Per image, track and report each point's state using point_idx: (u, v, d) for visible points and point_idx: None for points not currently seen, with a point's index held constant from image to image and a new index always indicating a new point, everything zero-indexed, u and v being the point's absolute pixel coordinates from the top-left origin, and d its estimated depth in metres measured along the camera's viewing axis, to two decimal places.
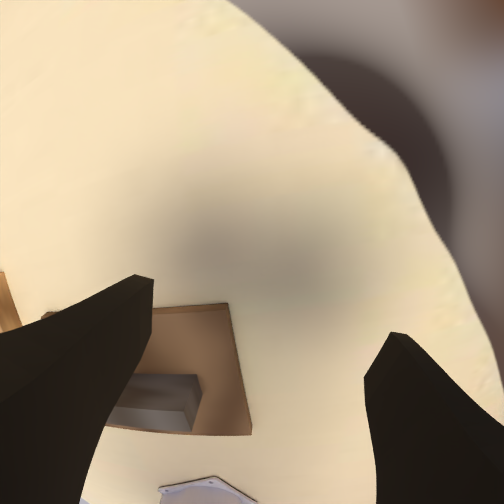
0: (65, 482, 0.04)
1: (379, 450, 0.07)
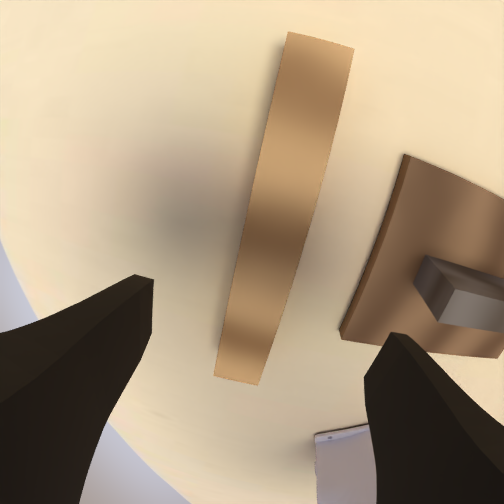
0: (65, 482, 0.04)
1: (379, 450, 0.07)
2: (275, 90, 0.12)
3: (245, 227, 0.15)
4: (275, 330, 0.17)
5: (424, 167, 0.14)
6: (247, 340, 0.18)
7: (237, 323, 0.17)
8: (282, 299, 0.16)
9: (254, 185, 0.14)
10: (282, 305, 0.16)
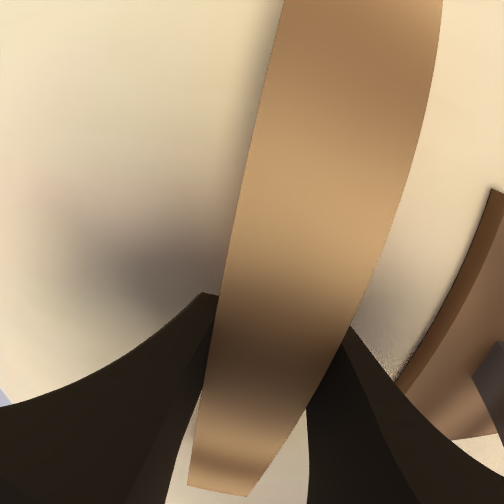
0: None
1: (313, 448, 0.07)
2: (277, 43, 0.04)
3: (213, 342, 0.07)
4: (270, 460, 0.10)
5: None
6: (228, 465, 0.10)
7: (212, 451, 0.10)
8: (281, 433, 0.09)
9: (228, 267, 0.06)
10: (282, 439, 0.09)
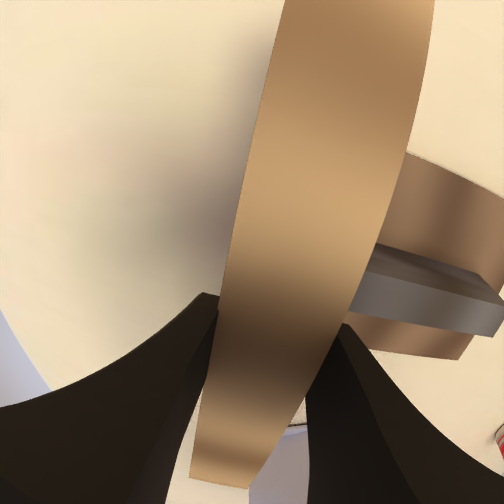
0: None
1: (312, 448, 0.07)
2: (276, 49, 0.05)
3: (216, 332, 0.08)
4: (270, 450, 0.10)
5: None
6: (230, 456, 0.10)
7: (214, 441, 0.10)
8: (282, 423, 0.09)
9: (230, 259, 0.07)
10: (282, 428, 0.09)
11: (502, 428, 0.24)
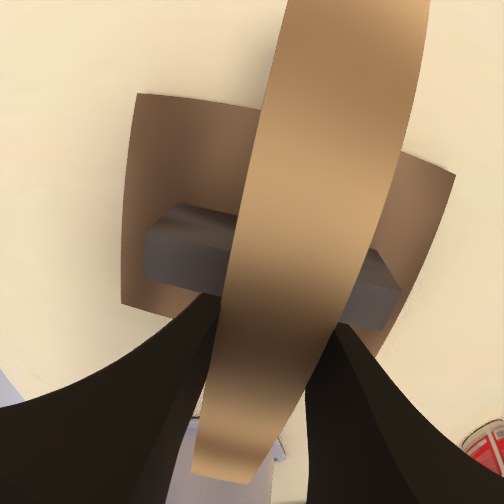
0: None
1: (312, 448, 0.07)
2: (276, 57, 0.05)
3: (219, 326, 0.08)
4: (271, 444, 0.10)
5: (154, 100, 0.13)
6: (231, 451, 0.11)
7: (215, 435, 0.10)
8: (281, 417, 0.09)
9: (233, 256, 0.07)
10: (282, 422, 0.10)
11: (469, 440, 0.23)
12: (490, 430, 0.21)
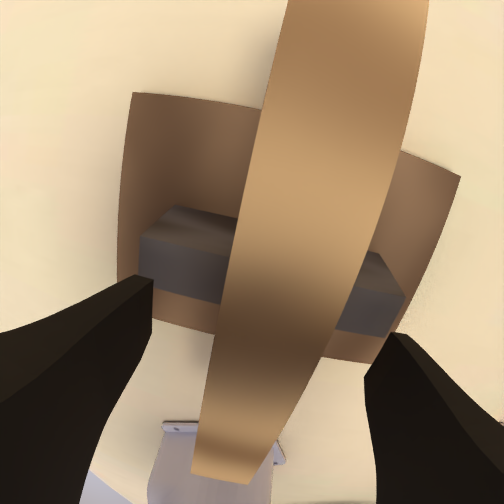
0: (65, 482, 0.04)
1: (379, 450, 0.07)
2: (277, 57, 0.05)
3: (219, 326, 0.08)
4: (271, 444, 0.10)
5: (150, 99, 0.12)
6: (231, 451, 0.11)
7: (215, 435, 0.10)
8: (282, 416, 0.09)
9: (233, 255, 0.07)
10: (282, 422, 0.10)
11: None
12: None
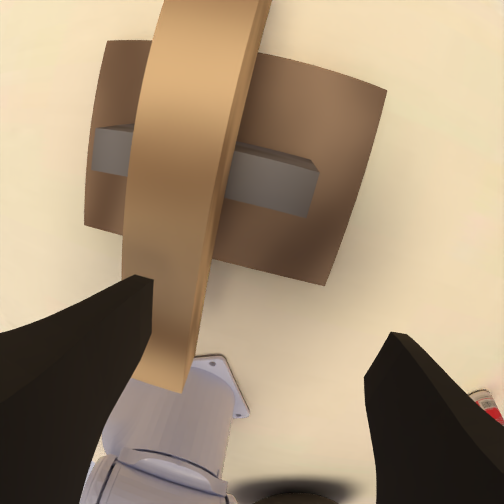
0: (65, 482, 0.04)
1: (379, 450, 0.07)
2: None
3: (131, 160, 0.09)
4: (189, 318, 0.12)
5: (119, 44, 0.13)
6: (154, 330, 0.12)
7: None
8: (191, 271, 0.11)
9: (141, 98, 0.08)
10: (193, 280, 0.11)
11: None
12: (474, 400, 0.22)
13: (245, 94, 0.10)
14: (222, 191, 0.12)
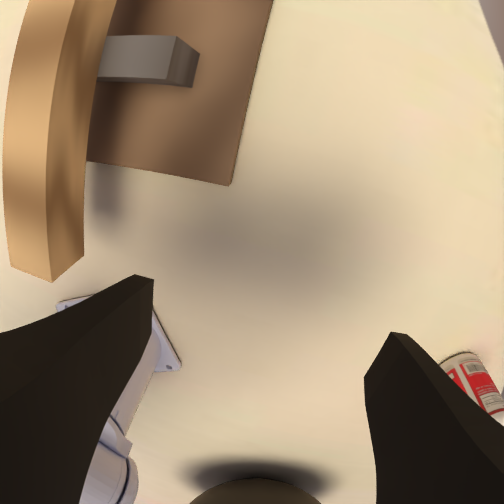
0: (65, 482, 0.04)
1: (379, 450, 0.07)
2: None
3: (17, 44, 0.07)
4: (44, 174, 0.10)
5: None
6: (22, 197, 0.10)
7: (11, 172, 0.10)
8: (45, 122, 0.09)
9: (29, 2, 0.07)
10: (45, 130, 0.09)
11: None
12: (458, 362, 0.20)
13: None
14: (89, 65, 0.10)
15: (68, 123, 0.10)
